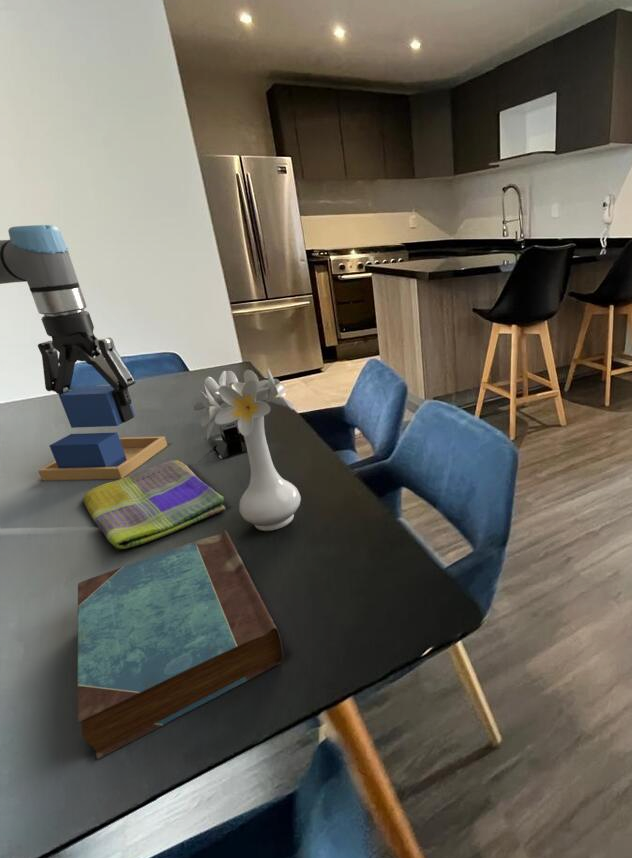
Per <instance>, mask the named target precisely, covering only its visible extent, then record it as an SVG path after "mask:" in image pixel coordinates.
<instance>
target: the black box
mask: <svg viewBox="0 0 632 858" xmlns="http://www.w3.org/2000/svg"><path fill="white" fill-rule="evenodd" d="M218 428H219V432H220V437H219V438H217V439H214V442H215V443H216V445H215V446H213V448H214V449H215V451H216V452H217V454H218V457H219V458H220V459H221V460H225V459H228V458H231V457H234V456H238V455H241V454H244V453H248V452H247V447H246V443H245V439H244V436H243V435H242V434H241V433H240V431H239V429H238V425H236V424H235V423H234V421H233V422H230V423H228V424H222V425H219V424H218Z"/></svg>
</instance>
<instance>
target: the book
mask: <svg viewBox="0 0 632 858" xmlns="http://www.w3.org/2000/svg"><path fill="white" fill-rule="evenodd" d="M283 662H284V650H283V644H282V640H281V636H280V633H279V630H278V628H277V626H276V624H275V622H274V620H273V618H272V616H271V614H270V613H269V610H268V609H267V606H266V604H265V603H264V600H263V599H262V597H261V594H260V593H259V591H258V589H257V587H256V585H255V583H254V581H253V579H252V577H251V575H250V574H249V571H248V570H247V568H246V566H245V564H244V561H243V559H242V558H241V556H240V554H239V552H238V550H237V548H236V546H235V544H234V542H233V540H232V538H231V536H230V534H229V532H228V531H227V530H222V531H221V532H220V533H218V534H217V535H212V536H208V537H204V538H202V539H199V540H195V541H192V542H189V543H185V544H183V545H181V546H178V547H174V548H172V549H169V550H166V551H163V552H160V553H158V554H155V555H151V556H149V557H147V558H144V559H141V560H138V561H136V562H132V563H129V564H126V565H124V566H120V567H118V568H116V569H113V570H110V571H108V572H107V571H106V572H105V573H102V574H99V575H96V576H94V577H93V576H92V577H91V578H87V579H85V580H82V581H79V582H78V583H77V680H76V681H77V685H76V686H77V689H76V690H77V693H76V695H77V696H76V697H77V699H76V700H77V701H76V702H77V703H76V706H77V707H76V708H77V709H76V710H77V711H76V712H77V713H76V714H77V723H81V734H82V737H83V740H84V741H85V742H86V743H87V744H88V745H89V746H91V747H92V748H93V749H94V750H95V758H96V760H99V759H102V758H103V757H106V756H107V755H109V754H111V753H113V752H116V751H117V750H119V749H121V748H123V747H124V746H127V745H128V744H130V743H132V742H134V741H136V740H138V739H140V738H142V737H144V736H145V735H147V734H150V733H151V732H153V731H155V730H157V729H159V728H161V727H163V726H164V725H166V724H168V723H171V722H172V721H174V720H176V719H178V718H181V717H182V716H184V715H186V714H188V713H190V712H192V711H193V710H195V709H197V708H200V707H201V706H203V705H205V704H206V703H208V702H210V701H212V700H214V699H216V698H218V697H220V696H222V695H224V694H226V693H227V692H230V691H232V690H233V689H236V688H237V687H239V686H241V685H243V684H244V683H246V682H248V681H250V680H252V679H254V678H256V677H258V676H259V675H261V674H263V673H264V672H267V671H268V670H270V669H272V668H274V667H276V666H279V665H281V664H282V663H283Z"/></svg>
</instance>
